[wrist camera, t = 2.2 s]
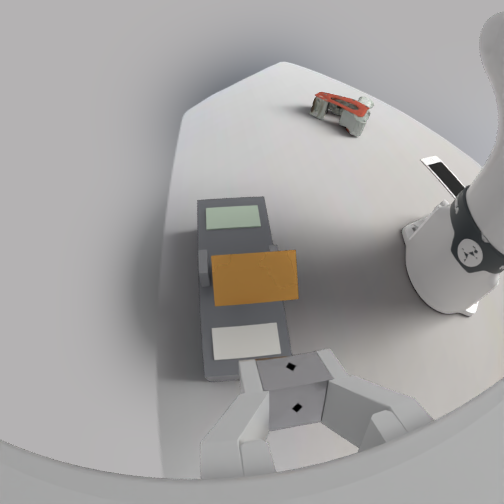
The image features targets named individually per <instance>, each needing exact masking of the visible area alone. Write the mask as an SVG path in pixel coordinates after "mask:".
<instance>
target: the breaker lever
mask: <svg viewBox="0 0 504 504" xmlns="http://www.w3.org/2000/svg"><path fill="white" fill-rule="evenodd" d="M211 262H212V276H213V289H214V301H215V306H227V305H240V304H252V303H263V302H274V301H284V300H293V299H299V298H298V279H297V262H296V250H288V251H273V252H258V253H244V254H229V255H214V256H211Z"/></svg>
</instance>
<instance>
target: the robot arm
mask: <svg viewBox="0 0 504 504" xmlns="http://www.w3.org/2000/svg"><path fill="white" fill-rule="evenodd" d="M479 48H480V56H481V61H482V64H483V67H484V70H485V72H486V74H487V76H488V78H489V80H490V82H491V85H492V88H493V90H494V94H495V97H496V102H497V108H498V131H497V137H496V141H495V144H494V147H493V149H492V151H491V154H490V155H489V158H488V159H487V161H486V163H485V164H484V166H483V168H482V169H481V171H480V172H479V174H478V175H477V177H476V178H475V180H474V181H473V183H472V184H471V185H469V186H466V187H465V188H464V189H463V190H462V191H461V192H460V193H459V194H458V195H457V197H456V199H455V200H454V201H453V203H452V204H449V203H448V201H447V200H444V201H442V202H441V203H440V204H439V205H437V206H436V207H435V208H434V210H433V212H432V213H431V214H430V215H429V216H427V217H424V218H422V219H420V220H418V221H415V222H413V223H411V224H409V225H406V226H405V227H404V228H403V229H402V235H403V239H404V242H405V244H406V267H407V271H408V275H409V277H410V280H411V282H412V284H413V286H414V288H415V290H416V291H417V293H418V294H419V295H420V297H421V298H422V299H423V300H424V301H425V302H426V303H427V304H428V305H429V306H430V307H432V308H433V309H435V310H437V311H439V312H442V313H446V314H452V313H462V314H464V315H467V316H472V315H473V314H474V313H475V312H476V310H477V306H478V303H479V300H481V299H482V298H483V297H485V296H486V295H487V294H488V293H490V292H491V291H492V290H493V289H495V288H496V287H497V285H498V281H499V278H500V272H502V271H503V270H504V12H500V13H497V14H495V15H493V16H492V17H490V18H489V19H488V20H487V21H486V23H485V24H484V26H483V28H482V31H481V34H480V42H479ZM238 365H239V380H240V392H241V394H239V395H238V396H237V398H236V399H235V400H234V402H233V403H232V404H231V405H230V407H229V408H228V409H227V411H226V412H225V413H224V414H223V416H222V417H221V418H220V419H219V421H218V422H217V423H216V424H215V426H214V427H213V428H212V429H211V431H210V432H209V433H208V434H207V435H206V437H205V438H204V439H203V440H202V441H201V443H200V472H201V479H168V478H152V477H141V476H132V475H124V474H117V473H111V472H105V471H99V470H94V469H89V468H85V467H80V466H77V465H72V464H69V463H65V462H61V461H58V460H54V459H51V458H48V457H44V456H41V455H38V454H35V453H33V452H30V451H27V450H25V449H22V448H19V447H17V446H14V445H12V444H9V443H7V442H5V441H2V440H0V504H504V377H503V378H502V379H501V380H499V381H498V382H496V383H495V384H494V385H492V386H491V387H489V388H488V389H487V390H485V391H484V392H482V393H481V394H479V395H478V396H476V397H474V398H473V399H471V400H470V401H468V402H467V403H465V404H463V405H462V406H460V407H458V408H457V409H455V410H453V411H451V412H450V413H448V414H446V415H444V416H442V417H440V418H439V419H437V420H435V421H434V420H433V418H432V417H431V416H430V415H429V414H428V413H427V411H426V410H425V409H424V408H423V407H422V406H421V405H420V403H419V402H418V401H417V400H416V399H415V398H413V397H410V396H408V395H405V394H402V393H399V392H396V391H394V390H391V389H388V388H386V387H383V386H380V385H378V384H375V383H373V382H370V381H368V380H365V379H363V378H360V377H358V376H355V375H351V376H349V374H348V373H347V372H346V370H345V369H344V367H343V366H342V365H341V363H340V362H339V360H338V359H337V358H336V356H335V355H334V353H333V352H332V351H331V349H329V348H328V349H323V350H318V351H314V352H310V353H304V354H297V355H291V356H281V357H271V358H261V359H255V360H254V359H250V360H239V363H238ZM317 422H321V423H322V424H324V425H325V426H327V427H328V428H330V429H331V430H332V431H334V432H335V433H337V434H338V435H340V436H341V437H343V438H344V439H346V440H347V441H349V442H351V443H352V444H354V445H355V446H357V447H358V448H359V450H358V453H355V454H352V455H349V456H346V457H342V458H339V459H335V460H332V461H328V462H324V463H320V464H316V465H312V466H307V467H303V468H298V469H293V470H287V471H282V472H276V470H275V466H274V462H273V459H272V455H271V451H270V448H269V444H268V442H266V441H265V440H266V438H267V436H268V434H269V431H274V430H279V429H285V428H290V427H295V426H301V425H306V424H312V423H317Z"/></svg>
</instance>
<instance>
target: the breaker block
mask: <svg viewBox="0 0 504 504" xmlns="http://www.w3.org/2000/svg"><path fill="white" fill-rule="evenodd" d="M197 225H198V274H199V299H200V319H201V336H202V350H203V363H204V375H205V378H206V379H207V380H208V381H209V382H217V381H230V380H239V365H238V363H239V360H250V359H254V360H255V359H261V358H271V357H281V356H291V355H292V353H291V346H290V340H289V334H288V328H287V322H286V316H285V310H284V304H283V301H274V302H263V303H252V304H240V305H227V306H215V301H214V289H213V276H212V262H211V256H214V255H229V254H244V253H258V252H273V251H278V247H277V245H273V242H272V236H271V231H270V226H269V220H268V215H267V210H266V205H265V199H264V197H241V198H223V199H207V200H197Z"/></svg>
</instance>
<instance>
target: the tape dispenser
mask: <svg viewBox="0 0 504 504" xmlns="http://www.w3.org/2000/svg"><path fill="white" fill-rule="evenodd" d="M315 96H316V97H315V99H314V101H313V106H312V108H311V112H309V114H310V115H312V116H314V117H316V118H318V119H320V120H323V119H324V116H325V114H326V113H327V111H328V109H330V110H332V113H334V114H337V115H341V117H340V123H339V125H342V126H345V127H346V130H347V131H348V132H350V134H351V135H354V136H360V135H361V133H362V131H363V128H364V126H365V124H366V121H367V120H368V118H369V116H370V111H369V109H370V108H372V107H373V106H374V103H373V101H372V100H370V99H368V98H365V97H360V98H359V100H358V101H356V100H354V99H350V98H346V97H342V96H338V95H333V94H329V93H324V92H319V93H318V94H315Z"/></svg>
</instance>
